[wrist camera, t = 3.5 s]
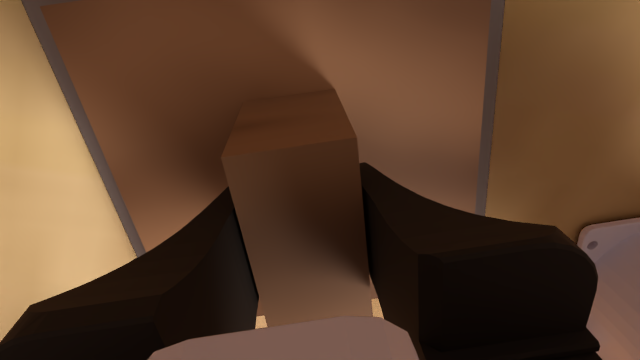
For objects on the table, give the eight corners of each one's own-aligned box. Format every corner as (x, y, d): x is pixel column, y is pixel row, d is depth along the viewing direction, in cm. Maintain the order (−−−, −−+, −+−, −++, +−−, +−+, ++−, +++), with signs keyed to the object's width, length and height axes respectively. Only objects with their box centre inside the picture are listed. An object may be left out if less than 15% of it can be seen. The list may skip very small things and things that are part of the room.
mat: (475, 269, 19) (479, 274, 19) (169, 316, 19) (167, 322, 19) (509, -115, 12) (515, -118, 12) (9, -44, 12) (1, -44, 11)
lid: (460, 269, 17) (526, 378, 13) (184, 310, 17) (143, 436, 12) (480, -56, 11) (622, -90, 7) (59, 5, 11) (-116, 16, 6)
